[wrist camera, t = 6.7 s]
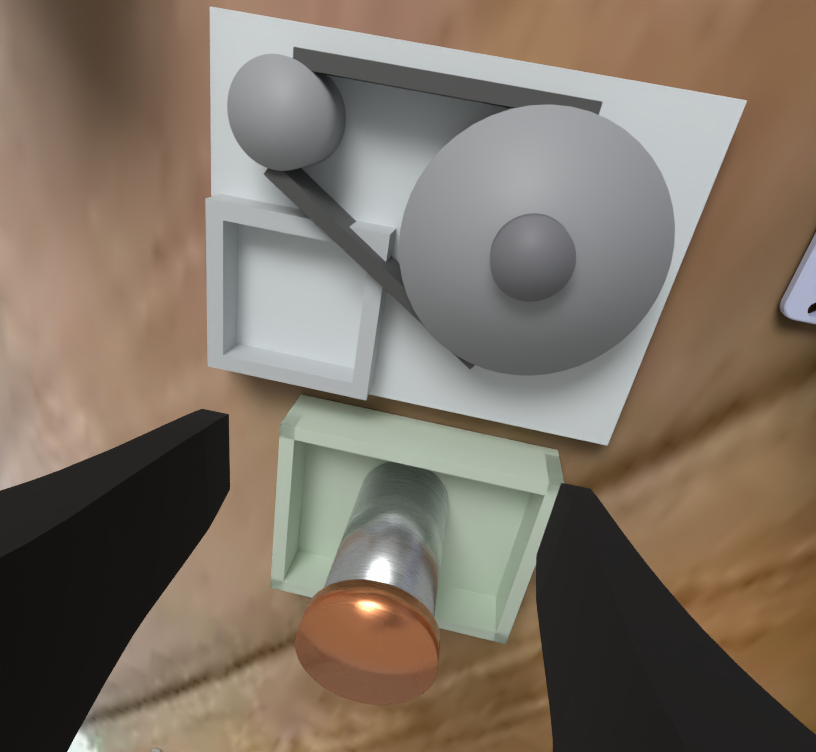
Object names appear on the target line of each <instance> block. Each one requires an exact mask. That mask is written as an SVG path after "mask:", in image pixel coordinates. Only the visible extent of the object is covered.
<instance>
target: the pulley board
mask: <svg viewBox="0 0 816 752" xmlns="http://www.w3.org/2000/svg"><path fill="white" fill-rule="evenodd" d="M210 92H211V197H209V198H206V269H207V343H208V366H209V367H214V368H218V369H223V370H228V371H232V372H237V373H242V374H246V375H251V376H255V377H260V378H265V379H269V380H274V381H279V382H283V383H288V384H292V385H297V386H302V387H306V388H311V389H315V390H320V391H325V392H329V393H334V394H339V395H343V396H348V397H352V398H357V399H362V400H367V397H368V395H369V394H370V395H375V396H379V397H384V398H389V399H393V400H398V401H403V402H407V403H412V404H416V405H421V406H426V407H430V408H435V409H440V410H444V411H449V412H454V413H458V414H463V415H468V416H472V417H477V418H481V419H486V420H491V421H495V422H500V423H505V424H509V425H514V426H519V427H523V428H528V429H532V430H537V431H542V432H546V433H551V434H556V435H560V436H565V437H570V438H574V439H579V440H584V441H588V442H593V443H597V444H602V445H608V443H609V440H610V438H611V435H612V433H613V431H614V428H615V426H616V423H617V421H618V418H619V416H620V413H621V411H622V408H623V406H624V403H625V401H626V398H627V396H628V393H629V391H630V389H631V386H632V384H633V381H634V379H635V376H636V374H637V371H638V369H639V366H640V364H641V361H642V359H643V356H644V354H645V351H646V349H647V347H648V344H649V342H650V339H651V337H652V334H653V332H654V329H655V327H656V324H657V322H658V319H659V317H660V314H661V312H662V309H663V307H664V305H665V302H666V300H667V297H668V295H669V292H670V290H671V287H672V285H673V282H674V280H675V277H676V275H677V272H678V270H679V267H680V265H681V263H682V260H683V258H684V255H685V253H686V250H687V248H688V245H689V243H690V240H691V238H692V235H693V233H694V230H695V228H696V225H697V223H698V221H699V218H700V216H701V213H702V211H703V208H704V206H705V203H706V201H707V198H708V196H709V193H710V191H711V188H712V186H713V183H714V181H715V178H716V176H717V174H718V171H719V169H720V166H721V164H722V161H723V159H724V156H725V154H726V151H727V149H728V146H729V144H730V141H731V139H732V136H733V134H734V132H735V129H736V127H737V124H738V122H739V119H740V117H741V114H742V112H743V109H744V107H745V104H746V102H747V100H741V99H736V98H730V97H724V96H719V95H713V94H707V93H701V92H696V91H690V90H684V89H679V88H673V87H667V86H661V85H656V84H650V83H644V82H639V81H633V80H627V79H621V78H616V77H610V76H604V75H599V74H593V73H587V72H581V71H576V70H570V69H564V68H559V67H553V66H547V65H541V64H536V63H530V62H524V61H519V60H513V59H507V58H501V57H496V56H490V55H484V54H479V53H473V52H467V51H461V50H456V49H450V48H444V47H439V46H433V45H427V44H421V43H416V42H410V41H404V40H399V39H393V38H387V37H381V36H376V35H370V34H364V33H359V32H353V31H347V30H341V29H336V28H330V27H324V26H319V25H313V24H307V23H302V22H296V21H290V20H284V19H279V18H273V17H267V16H262V15H256V14H250V13H244V12H239V11H233V10H227V9H222V8H216V7H210Z"/></svg>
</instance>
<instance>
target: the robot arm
mask: <svg viewBox="0 0 816 752" xmlns="http://www.w3.org/2000/svg"><path fill="white" fill-rule="evenodd" d="M814 303H816V233H815V235H814V237H813V239H812V241H811V243H810V245H809V247H808V249H807V251H806V253H805V255H804V257H803V259H802V261H801V263H800V264H799V266H798V268H797V270H796V272H795V274H794V276H793V278H792V280H791V282H790V284H789V286H788V288H787V290H786V292H785V294H784V296H783V298H782V300H781V303H780V311H781V312H782V313H783V315H785V316H786V317H788V318H790V319H792V320H796V321H801V322H806V323H811V324H816V310H815V311H814V312H812V313H807V311H808V308H809V307H810V306H811V304H814ZM229 490H230V464H229V414H224V413H220V412H215V411H210V410H205V409H200V410H198V411H195V412H193V413H190V414H188V415H186V416H183V417H181V418H179V419H176V420H174V421H172V422H170V423H168V424H166V425H163V426H161V427H159V428H157V429H155V430H153V431H150V432H148V433H146V434H144V435H142V436H139V437H137V438H135V439H133V440H131V441H128V442H126V443H124V444H122V445H119V446H117V447H115V448H113V449H110V450H108V451H106V452H103V453H101V454H98V455H96V456H93V457H91V458H89V459H86V460H84V461H81V462H79V463H76V464H74V465H71V466H69V467H67V468H64V469H62V470H59V471H56V472H54V473H51V474H48V475H46V476H43V477H40V478H37V479H34V480H32V481H29V482H26V483H23V484H20V485H17V486H14V487H11V488H7V489H4V490H1V491H0V752H67V751H68V749H69V747H70V745H71V743H72V741H73V739H74V738H75V736H76V734H77V732H78V730H79V729H80V727H81V725H82V723H83V721H84V720H85V718H86V716H87V714H88V712H89V711H90V709H91V707H92V705H93V703H94V702H95V700H96V698H97V696H98V694H99V693H100V691H101V689H102V687H103V685H104V684H105V682H106V680H107V679H108V677H109V675H110V673H111V672H112V670H113V668H114V667H115V665H116V663H117V662H118V660H119V658H120V656H121V655H122V653H123V651H124V650H125V648H126V646H127V645H128V643H129V641H130V639H131V638H132V636H133V635H134V633H135V632H136V630H137V629H138V627H139V626H140V624H141V623H142V621H143V620H144V618H145V617H146V615H147V614H148V612H149V611H150V610H151V608H152V607H153V606H154V604H155V603H156V601H157V600H158V599H159V597H160V596H161V595H162V593H163V592H164V590H165V589H166V588H167V586H168V585H169V583H170V582H171V581H172V579H173V578H174V577H175V575H176V574H177V572H178V571H179V570H180V568H181V567H182V566H183V564H184V563H185V561H186V560H187V559H188V557H189V556H190V554H191V553H192V552H193V550H194V549H195V547H196V546H197V545H198V543H199V542H200V540H201V539H202V538H203V536H204V535H205V533H206V532H207V530H208V529H209V527H210V525H211V524H212V522H213V520H214V518H215V516H216V515H217V513H218V511H219V509H220V507H221V505H222V503H223V501H224V499H225V497H226V496H227V494H228V492H229ZM536 602H537V611H538V619H539V627H540V636H541V643H542V651H543V659H544V667H545V674H546V682H547V690H548V698H549V705H550V714H551V725H552V736H553V752H816V735H815V734H814V733H813V732H812V731H811V730H809V729H808V728H807V727H806V726H805V725H804V724H802V723H801V722H800V721H799V720H798V719H797V718H795V717H794V716H793V715H792V714H791V713H790V712H789V711H788V710H786V709H785V708H784V707H783V706H782V705H781V704H780V703H779V702H778V701H776V700H775V699H774V698H773V697H772V696H771V695H770V694H769V693H768V692H766V691H765V690H764V689H763V688H762V687H761V686H760V685H759V684H758V683H756V682H755V681H754V680H753V679H752V678H751V677H750V676H749V675H748V674H747V673H746V672H745V671H744V670H743V669H742V668H741V667H740V666H739V665H738V664H737V663H736V662H735V661H734V660H733V659H732V658H731V657H730V656H729V655H728V654H727V653H726V652H725V651H724V650H723V649H722V648H721V647H720V646H719V645H718V644H717V643H716V642H715V641H714V640H713V639H712V638H711V637H710V636H709V635H708V634H707V633H706V632H705V631H704V630H703V629H702V628H701V627H700V626H699V624H698V623H697V622H696V621H695V620H694V619H693V618H692V617H691V616H690V615H689V614H688V612H687V611H686V610H685V609H684V608H683V607H682V606H681V604H680V603H679V602H678V601H677V600H676V599H675V597H674V596H673V595H672V594H671V593H670V592H669V590H668V589H667V588H666V587H665V586H664V585H663V583H662V582H661V581H660V580H659V578H658V577H657V576H656V575H655V574H654V572H653V571H652V570H651V569H650V567H649V566H648V565H647V564H646V562H645V561H644V560H643V558H642V557H641V556H640V555H639V553H638V552H637V551H636V549H635V548H634V547H633V545H632V544H631V543H630V541H629V540H628V539H627V537H626V536H625V535H624V533H623V532H622V531H621V529H620V528H619V526H618V525H617V524H616V522H615V521H614V520H613V518H612V517H611V515H610V514H609V513H608V511H607V510H606V509H605V507H604V506H603V504H602V503H601V502H600V500H599V499H598V498H597V496H596V495H595V494H594V492H593V491H592V490H591V489H589V488H584V487H579V486H574V485H569V484H564V483H561V485H560V488H559V491H558V494H557V497H556V499H555V502H554V505H553V508H552V511H551V514H550V517H549V520H548V523H547V526H546V529H545V531H544V534H543V537H542V540H541V543H540V546H539V549H538V552H537V555H536Z"/></svg>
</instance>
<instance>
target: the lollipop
mask: <svg viewBox="0 0 816 752" xmlns="http://www.w3.org/2000/svg"><path fill="white" fill-rule="evenodd" d="M152 752H162V751H161V750H160V749H157V748H153V750H152Z"/></svg>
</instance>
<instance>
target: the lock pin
mask: <svg viewBox="0 0 816 752" xmlns="http://www.w3.org/2000/svg"><path fill="white" fill-rule="evenodd" d="M447 509H448V494H447V491H446V488H445V486H444V484H443V483H442V481H441V480H440V479H439V478H438V477H437V476H436V475H435V474H434V473H433V472H432V471H430V470H428V469H423V468H419V467H414V466H410V465H405V464H401V463H396V462H387V463H384V464H381V465H379V466H377V467H375V468H374V469H372V470H371V471H370V472H369V473H368V474H367V476H366V477H365V479H364V481H363V483H362V486H361V488H360V491H359V494H358V496H357V499H356V502H355V504H354V507H353V510H352V513H351V515H350V518H349V521H348V523H347V526H346V529H345V531H344V534H343V537H342V540H341V542H340V545H339V548H338V550H337V553H336V556H335V558H334V561H333V564H332V567H331V569H330V572H329V575H328V577H327V580H326V583H325V585H324V588H323V589H321V590H320V591H318V592H317V593H316V594H315V595H314V596H313V597H312V599H311V600H310V602H309V604H308V606H307V608H306V611H305V613H304V616H303V618H302V621H301V623H300V626H299V629H298V631H297V634H296V638H295V648H296V653H297V656H298V659H299V661H300V663H301V665H302V666H303V668H304V669H305V670H306V672H307V673H308V674H309V675H310V676H311V677H312V678H313V679H314V680H315V681H316V682H318V683H319V684H320V685H322V686H323V687H324V688H326V689H328V690H329V691H331V692H333V693H335V694H337V695H339V696H342V697H344V698H347V699H350V700H353V701H357V702H361V703H366V704H374V705H391V704H398V703H403V702H407V701H409V700H412V699H414V698H416V697H418V696H420V695H421V694H423V693H424V692H425V691H426V690H428V689H429V688H430V686H431V685H432V683H433V682H434V680H435V677H436V674H437V668H438V659H439V649H440V630H439V627H438V624H437V622H436V620H435V618H434V614H435V606H436V598H437V590H438V582H439V574H440V566H441V558H442V550H443V541H444V533H445V525H446V517H447Z"/></svg>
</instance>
